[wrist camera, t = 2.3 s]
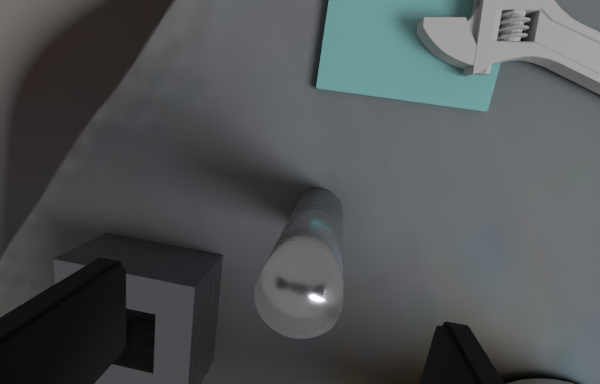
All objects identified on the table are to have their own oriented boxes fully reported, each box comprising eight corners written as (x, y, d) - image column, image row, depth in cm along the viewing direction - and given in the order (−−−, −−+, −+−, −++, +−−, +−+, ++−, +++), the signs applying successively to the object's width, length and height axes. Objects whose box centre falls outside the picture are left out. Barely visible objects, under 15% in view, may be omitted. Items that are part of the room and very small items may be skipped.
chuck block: (222, 255, 25) (194, 287, 21) (213, 360, 28) (186, 411, 23) (106, 233, 26) (53, 259, 21) (106, 336, 29) (58, 381, 24)
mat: (536, -86, 18) (543, -93, 18) (483, 112, 21) (487, 111, 20) (344, -102, 19) (344, -109, 19) (316, 88, 22) (315, 88, 21)
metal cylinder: (345, 192, 23) (351, 266, 11) (338, 236, 24) (335, 346, 12) (299, 184, 23) (259, 249, 12) (293, 228, 24) (249, 328, 13)
